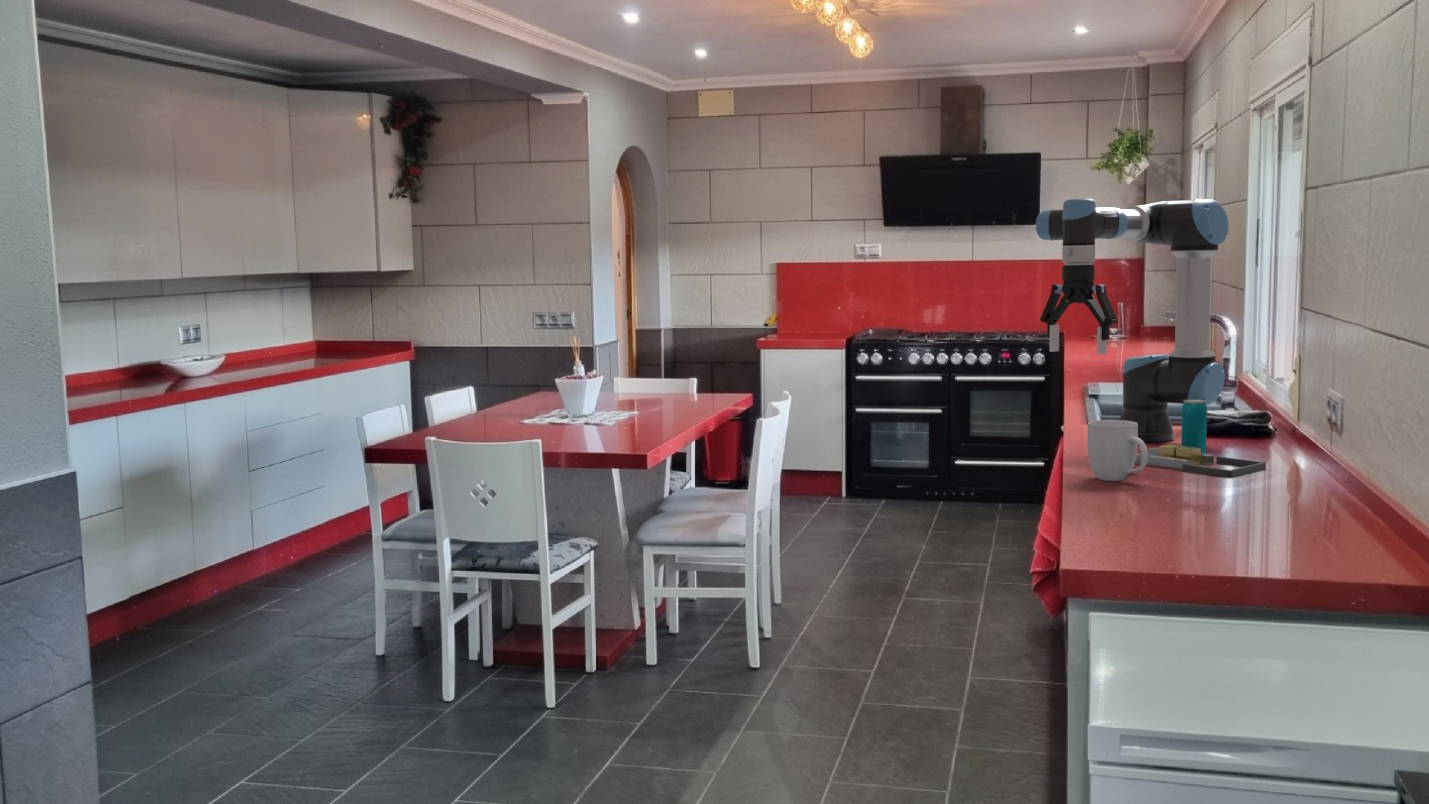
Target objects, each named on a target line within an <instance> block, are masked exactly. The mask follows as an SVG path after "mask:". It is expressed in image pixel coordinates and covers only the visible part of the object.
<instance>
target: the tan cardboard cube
mask: <svg viewBox="0 0 1429 804" xmlns="http://www.w3.org/2000/svg"><path fill="white" fill-rule="evenodd" d="M1176 458H1179V459H1187V460H1192V462H1191V465H1195V466H1198V465H1200V460H1201V448H1194V447H1186V446H1185V447H1180V448H1176Z"/></svg>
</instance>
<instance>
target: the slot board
mask: <svg viewBox="0 0 1429 804" xmlns="http://www.w3.org/2000/svg"><path fill="white" fill-rule="evenodd" d="M1147 452H1148V461H1147V464H1146V466H1151V467H1161V468H1168V469H1176V470H1181V471H1183V464H1187V465H1191V462H1192V460H1187V459H1179V458H1172V457H1164V456H1159V447H1151V448H1147ZM1214 456H1215V455H1214V454H1209V453H1206V454H1201V460H1200V465H1198V466H1202V467H1206V466H1208V465H1214V463H1215V462H1214V459H1215V457H1214ZM1141 458H1142V455H1141V452H1140V453H1138V452H1137V455H1136V460H1135V464H1138V465H1140V464H1141Z"/></svg>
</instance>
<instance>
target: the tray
mask: <svg viewBox="0 0 1429 804" xmlns="http://www.w3.org/2000/svg"><path fill="white" fill-rule="evenodd" d="M1215 463H1216V464H1217V465H1227V466H1234V467H1235V466H1236V467H1237V468H1233V469H1224V468H1223V469H1222V468H1215V467H1207V466H1195V465H1187V464H1183V470H1182V472H1186V473H1193V474H1199V475H1200V474H1201V475H1208V476H1216V477H1223V478H1234V477H1239V476H1243V475H1247V474H1251V473H1255V472H1259V471H1263V470H1266V466H1267V465H1266V464H1267V462H1266V461H1256V460H1250V459H1249V460H1248V459H1241V458H1232V457H1224V456H1216V460H1215Z"/></svg>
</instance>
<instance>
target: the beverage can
mask: <svg viewBox="0 0 1429 804" xmlns="http://www.w3.org/2000/svg"><path fill="white" fill-rule="evenodd" d="M1205 402H1206V401H1205V400H1199V399H1188V400H1184V403H1183V404H1182V406H1181V437H1180V438H1181V442H1180V443H1181V444H1180V446H1183V447H1185V446H1186V447H1194V448H1201V454H1207V431H1208V430H1207V428H1208V427H1207V425H1208V424H1207V422H1208V407H1207V406H1208V405H1207V406H1206V403H1205Z"/></svg>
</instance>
